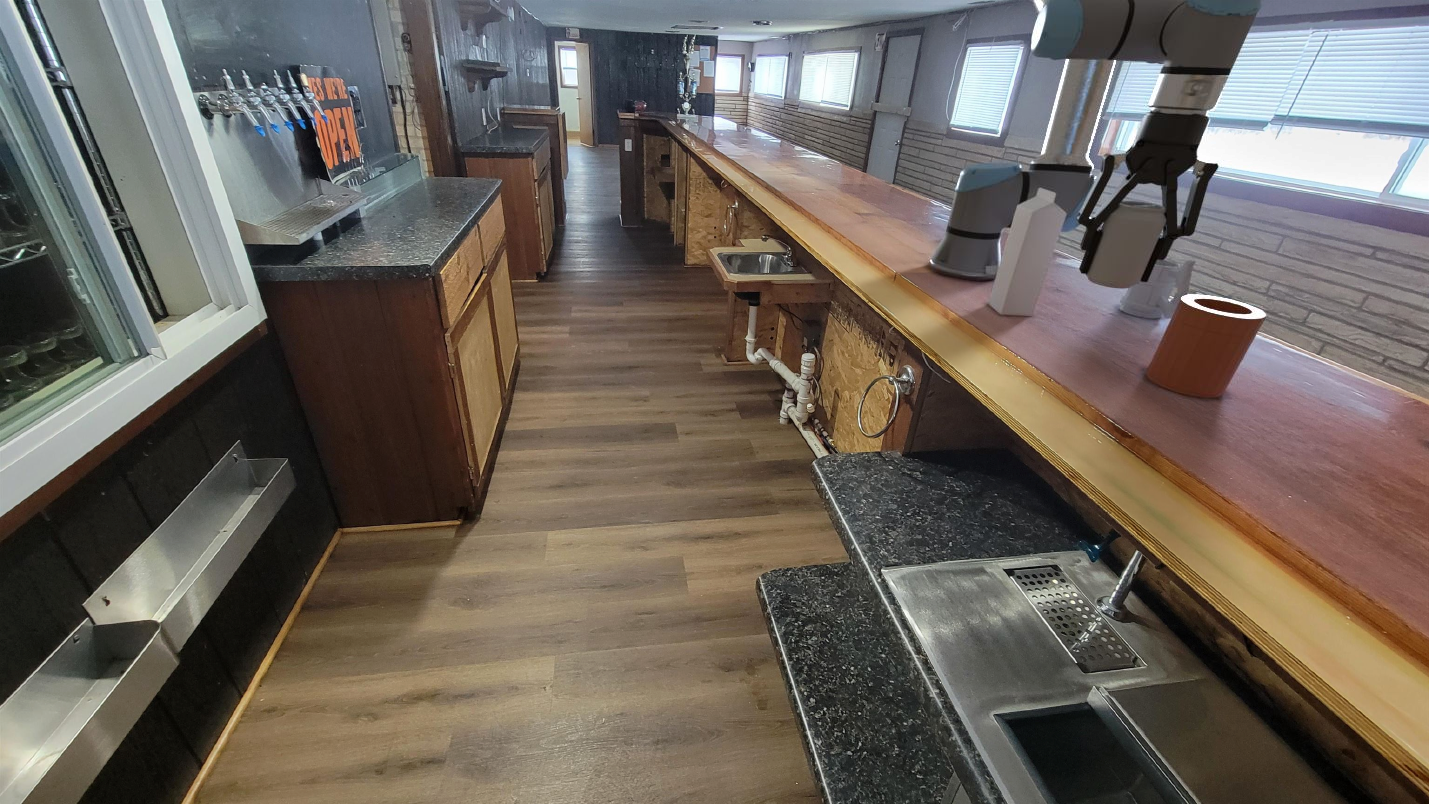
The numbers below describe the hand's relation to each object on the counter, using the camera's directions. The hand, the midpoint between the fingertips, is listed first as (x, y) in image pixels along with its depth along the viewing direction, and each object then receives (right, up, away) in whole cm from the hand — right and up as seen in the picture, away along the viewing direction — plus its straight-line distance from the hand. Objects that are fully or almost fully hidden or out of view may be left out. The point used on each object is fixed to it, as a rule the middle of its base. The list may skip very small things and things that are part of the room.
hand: (1112, 275), depth 88 cm
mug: (+22, -3, +21) cm, 30 cm away
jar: (+7, -17, -4) cm, 19 cm away
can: (0, -1, +1) cm, 1 cm away
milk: (-5, -2, +21) cm, 21 cm away
